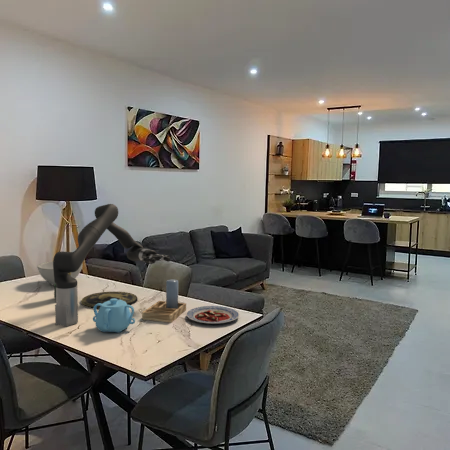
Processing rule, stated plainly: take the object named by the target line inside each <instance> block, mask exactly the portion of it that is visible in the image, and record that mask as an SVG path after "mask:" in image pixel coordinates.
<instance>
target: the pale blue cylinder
mask: <svg viewBox="0 0 450 450" xmlns="http://www.w3.org/2000/svg"><path fill="white" fill-rule="evenodd" d="M165 282H166V283H165V284H166V285H165V286H166V287H165V288H166V289H165V290H166V291H165V292H166V293H165V294H166V296H165V299H166V300H165V301H166V308H173V309H178V303H179V280H178V279H167V280H166V281H165Z"/></svg>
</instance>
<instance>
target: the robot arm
mask: <svg viewBox="0 0 450 450" xmlns="http://www.w3.org/2000/svg"><path fill="white" fill-rule="evenodd" d="M118 215H119V209H118V206H117V205H115V204H114V203H107V204H104V205H100V206H97V207H95V210H94V217H95V219H94V220H92V221H90V222H89V223H87V224H86V225H84V227H83V228H82V229H81V231H80V232H79V233H78V236H77V243H78V244H77V245H78V247H77V248H76V249H75V250H74V251H58V252H56V253H55V255H54V257H53V260H52V261H53V270H54V281H55V284H56V299H55V301H56V304H55V305H54V314H55V315H54V316H55V326H61V327H69V326H73V325H75V324H77V323H79V310H78V309H79V307H78V306H79V304H78V303H79V302H78V301H79V300H78V280H77V279H76V278H73V277H71V276H70V275H69V274H68V272H76V271H77V270H78V269H79V268H80V266H81V265H82V263H84V261H85V259H86V258H87V256H88V254H89V253H90V252H91V250H92V248H94V246H95V245H96V243H97V242H98V241H99V240H100V239H101V236H103V234H104V233H105V232H106V231H107V230H108V232H110V233H111V234H112V235H113V236H114V237H115V238H116V239H117V241H118V242H119V243H120V244H121V246H122V247H123V248H124V249H126V250H127V252H126V258H127V259H128V260H130V261H132V262H139V261H142V262H144V263H146V264H149V265H152V264H155V263H156V262H157V263H158V262H167V263H169V262H170V261H171V258H170V255H166V254H158V253H157V252H156V251H155V250H152V249H150V248H145V247H144V246H143V245H141V244H140V243H139V242H137V241H136V240H135V239H134V238H133V237H132V236H131V234H130V233H129V232H128V231H127V230H126V229H125V228H123V227H121V226H119V225H118V224H116V223H114V222H115V220H117V219H118ZM128 249H129V250H128Z"/></svg>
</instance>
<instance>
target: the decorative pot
mask: <svg viewBox="0 0 450 450" xmlns="http://www.w3.org/2000/svg"><path fill="white" fill-rule="evenodd" d="M97 306H101V307H100V309H96V307H97ZM92 309H93V313H94V316H93V317H92V321H93V322H94V323H95V327H96V328H97V329H98V330H99V331H100V332H102V333H103V332H104V333H106V332H111V333H114V332H115V333H122V331H123V330H126V329H127V328H128V327H129V326H130V325H134V324H135V323H136V319H135V318H133V317H134V313H135V308H134V306H133V305H127V303H126V302H125V301H122V300H117V299H115V298H114V299H110V301H106V302H104V303H103V304H101V303H98V304H96V305H95V306H94V308H92Z"/></svg>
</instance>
